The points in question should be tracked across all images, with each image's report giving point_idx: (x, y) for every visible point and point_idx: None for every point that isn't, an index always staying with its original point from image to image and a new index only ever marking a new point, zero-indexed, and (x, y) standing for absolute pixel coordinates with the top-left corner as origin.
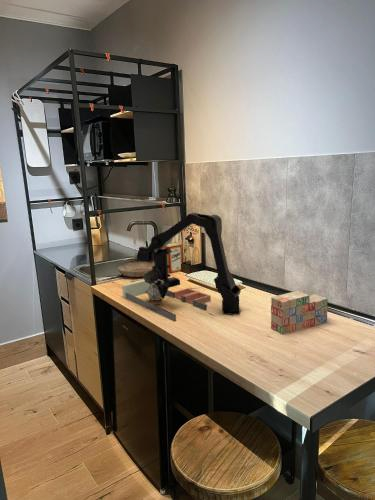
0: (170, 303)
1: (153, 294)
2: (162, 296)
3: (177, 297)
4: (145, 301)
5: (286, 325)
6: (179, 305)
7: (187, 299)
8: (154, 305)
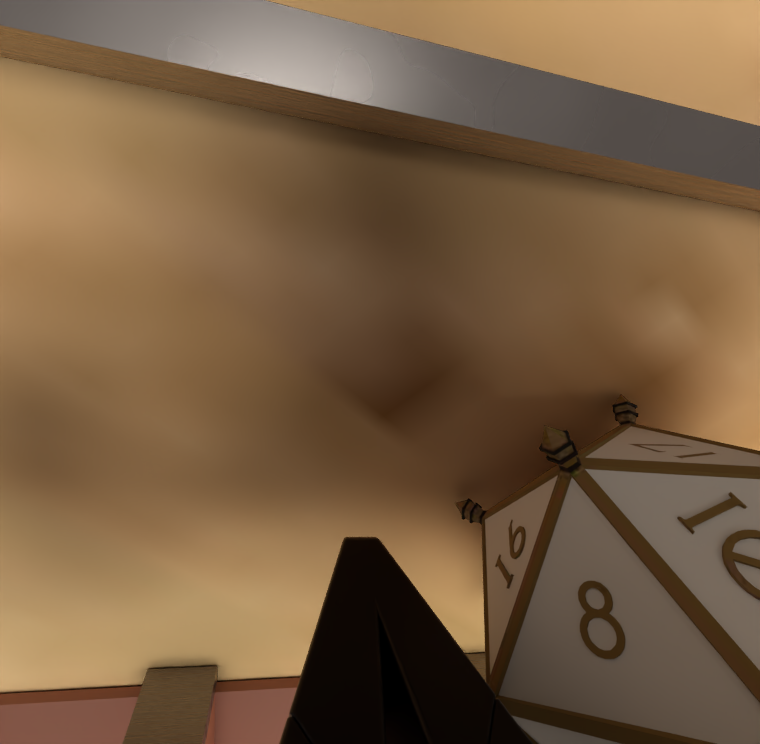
0: (268, 541)
1: (605, 501)
2: (336, 568)
3: None
4: (581, 128)
5: None
6: (76, 576)
7: None
8: (26, 4)
